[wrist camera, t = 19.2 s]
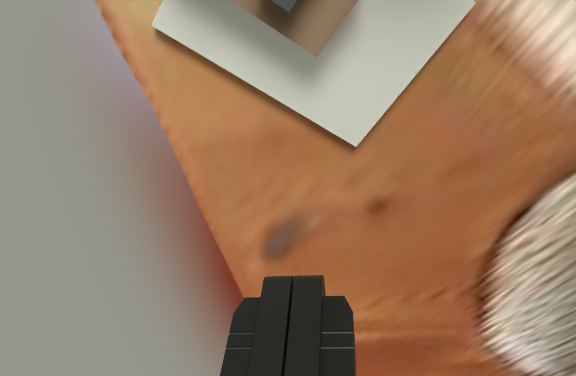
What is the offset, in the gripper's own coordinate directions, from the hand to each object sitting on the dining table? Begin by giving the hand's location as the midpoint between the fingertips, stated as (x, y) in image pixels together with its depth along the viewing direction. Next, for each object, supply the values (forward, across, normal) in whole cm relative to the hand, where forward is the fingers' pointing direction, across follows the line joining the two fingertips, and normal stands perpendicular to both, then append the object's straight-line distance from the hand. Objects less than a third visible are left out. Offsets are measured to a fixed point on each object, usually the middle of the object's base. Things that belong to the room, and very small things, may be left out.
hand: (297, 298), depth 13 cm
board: (+32, +2, +2) cm, 32 cm away
